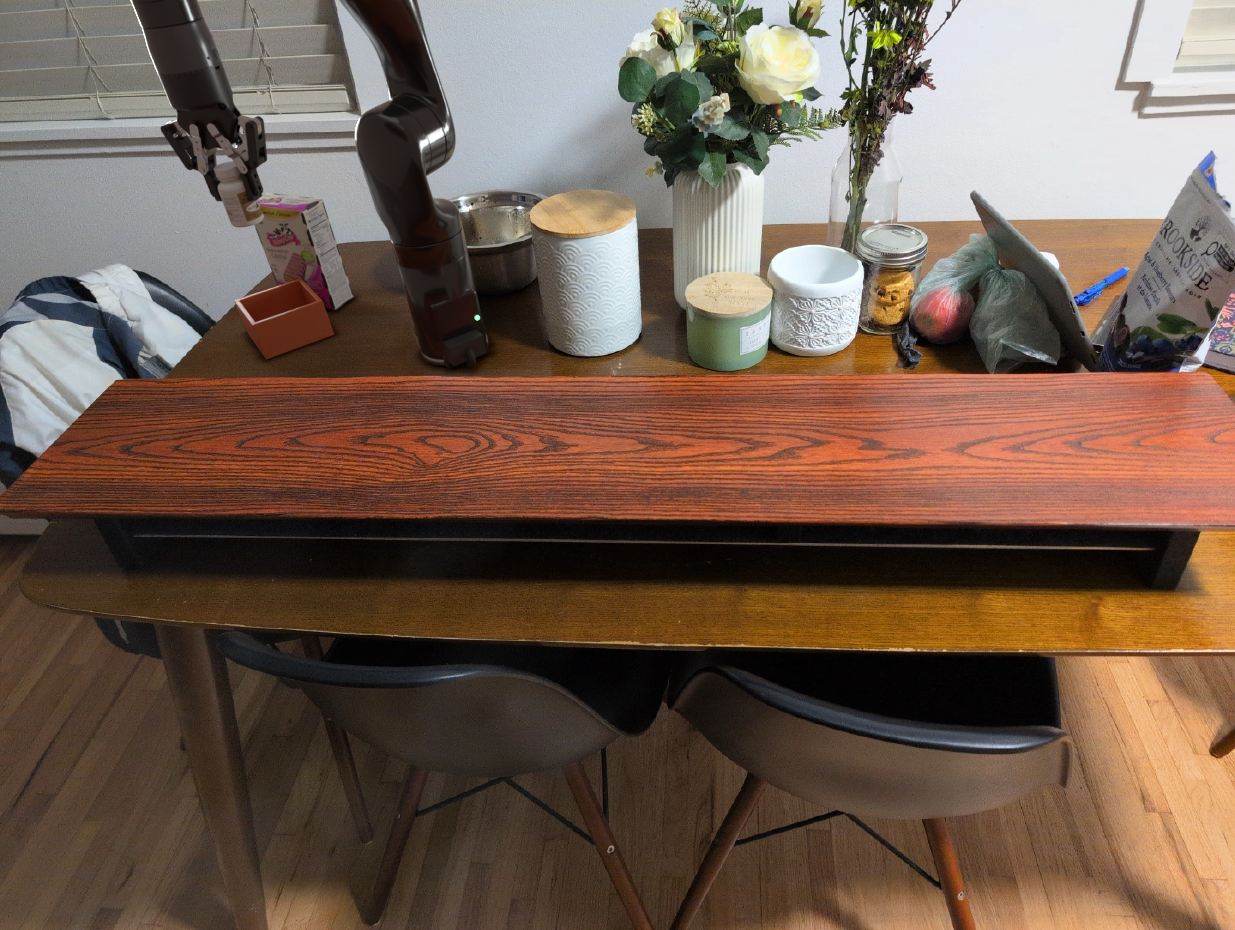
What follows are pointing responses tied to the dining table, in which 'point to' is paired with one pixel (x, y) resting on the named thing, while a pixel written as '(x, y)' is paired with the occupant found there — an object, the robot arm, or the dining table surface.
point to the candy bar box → (303, 246)
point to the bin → (284, 318)
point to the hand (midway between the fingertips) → (239, 198)
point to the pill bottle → (236, 197)
